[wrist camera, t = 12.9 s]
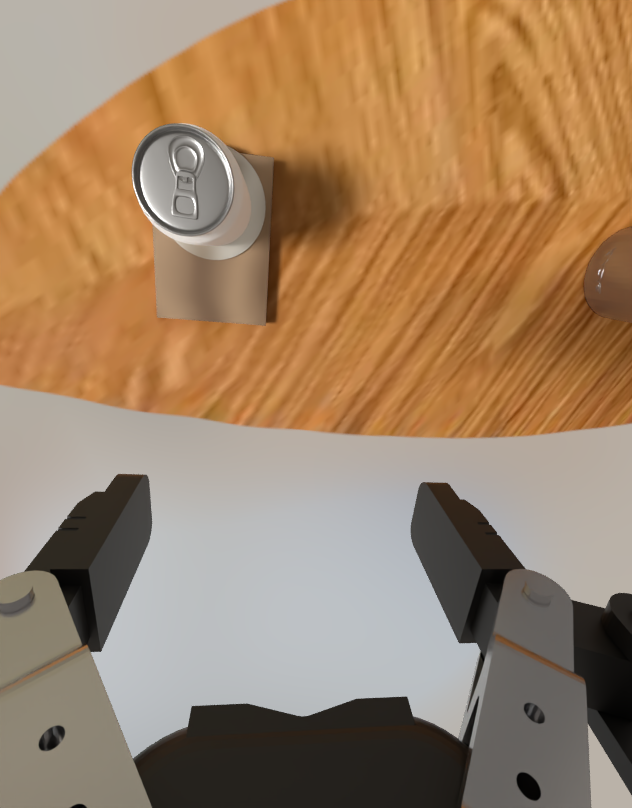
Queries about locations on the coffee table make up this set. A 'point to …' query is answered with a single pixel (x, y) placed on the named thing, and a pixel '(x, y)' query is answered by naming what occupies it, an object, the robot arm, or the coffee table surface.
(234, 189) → the can
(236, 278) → the board
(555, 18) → the coffee table surface
